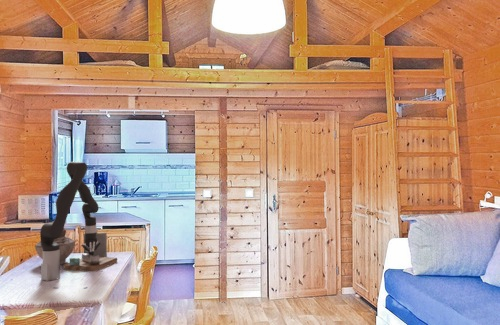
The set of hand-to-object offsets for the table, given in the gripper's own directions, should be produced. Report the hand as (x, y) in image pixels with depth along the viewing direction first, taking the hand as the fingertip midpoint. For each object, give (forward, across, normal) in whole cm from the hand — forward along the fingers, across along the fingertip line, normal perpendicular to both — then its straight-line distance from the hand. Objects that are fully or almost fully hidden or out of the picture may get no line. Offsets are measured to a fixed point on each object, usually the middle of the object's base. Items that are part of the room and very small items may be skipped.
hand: (91, 256), depth 273 cm
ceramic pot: (+5, -16, +20) cm, 26 cm away
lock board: (+5, -2, -4) cm, 7 cm away
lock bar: (+2, -4, -7) cm, 8 cm away
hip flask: (+5, +11, +18) cm, 22 cm away
